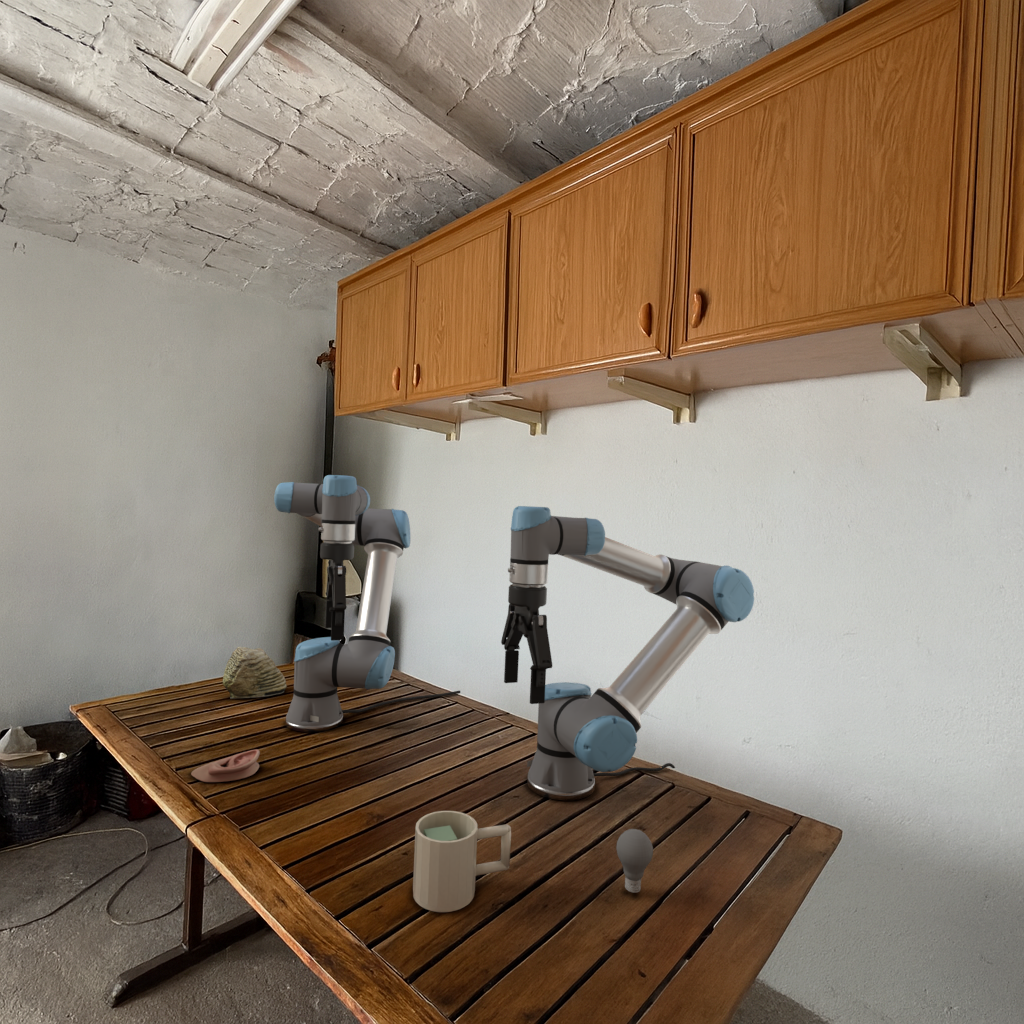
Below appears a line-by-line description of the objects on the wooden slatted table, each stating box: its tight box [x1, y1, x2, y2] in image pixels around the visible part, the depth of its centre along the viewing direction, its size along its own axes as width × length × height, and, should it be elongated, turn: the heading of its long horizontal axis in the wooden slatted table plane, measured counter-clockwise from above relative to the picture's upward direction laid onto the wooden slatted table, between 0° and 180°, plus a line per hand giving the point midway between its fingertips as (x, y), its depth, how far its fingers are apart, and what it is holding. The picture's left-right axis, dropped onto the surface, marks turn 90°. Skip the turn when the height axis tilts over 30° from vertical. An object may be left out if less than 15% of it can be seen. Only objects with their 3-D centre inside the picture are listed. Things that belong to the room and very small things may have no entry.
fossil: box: [222, 646, 288, 699], centre depth 198 cm, size 9×18×15 cm, turn 132°
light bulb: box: [615, 828, 654, 894], centre depth 106 cm, size 6×6×10 cm
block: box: [424, 825, 457, 841], centre depth 103 cm, size 4×4×9 cm
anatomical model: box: [190, 748, 261, 783], centre depth 143 cm, size 13×4×12 cm
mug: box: [412, 810, 512, 913], centre depth 104 cm, size 16×10×11 cm, turn 111°
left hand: (334, 633), depth 147 cm, fingers open, 13 cm apart
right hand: (523, 692), depth 125 cm, fingers open, 13 cm apart
